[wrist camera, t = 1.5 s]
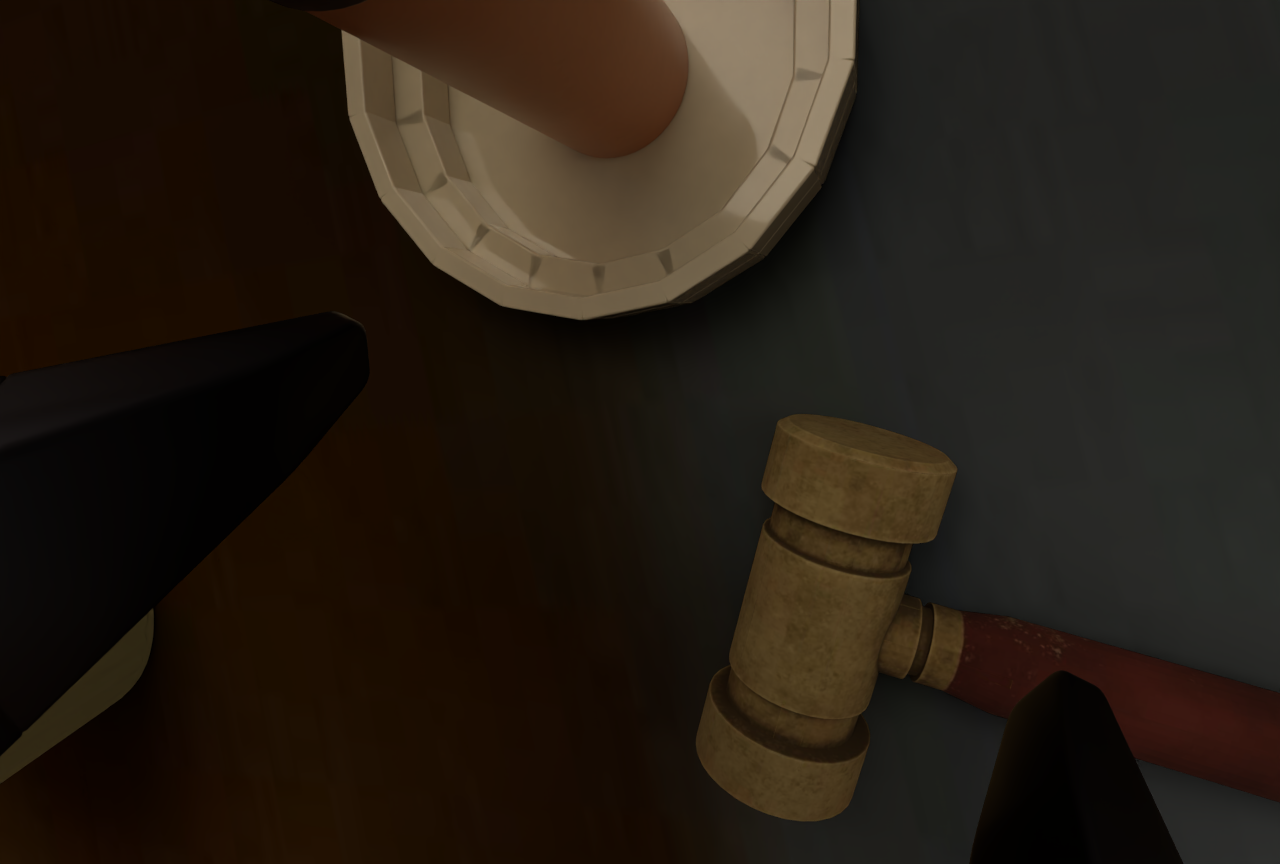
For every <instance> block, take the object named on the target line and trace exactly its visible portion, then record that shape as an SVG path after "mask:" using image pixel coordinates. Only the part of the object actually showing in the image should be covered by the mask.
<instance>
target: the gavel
mask: <svg viewBox="0 0 1280 864" xmlns="http://www.w3.org/2000/svg"><path fill="white" fill-rule="evenodd" d="M956 473H957V467H956V466H955V464H954V463H953V462H952V461H951V460H950V459H949V457H948V456H946V455H945V454H944V453H943V452H941V451H939V450H938V449H936V448H933V447H931V446H929V445H927V444H925V443H922V442H920V441H917V440H915V439H912V438H909V437H907V436H904V435H901V434H897V433H894V432H891V431H888V430H884V429H881V428H878V427H874V426H870V425H866V424H862V423H858V422H854V421H849V420H844V419H839V418H834V417H828V416H821V415H812V414H795V415H791V416H788V417H785V418H783V419H780V420H779V421H778V422H777V426H776V430H775V433H774V437H773V441H772V445H771V449H770V453H769V457H768V461H767V464H766V468H765V472H764V476H763V480H762V490H763V491H764V493H765V494H766V495H767V496H768V497H769V498H770V499H772V500H773V501H774V502H775V504H774V508H773V512H772V516H771V518H769V519H767V520H765V522H764V524H763V527H762V530H761V534H760V538H759V542H758V546H757V549H756V553H755V557H754V561H753V565H752V568H751V572H750V576H749V580H748V584H747V588H746V591H745V595H744V599H743V603H742V607H741V610H740V614H739V618H738V622H737V626H736V629H735V633H734V637H733V641H732V645H731V649H730V652H729V661H730V664H731V665H729V666H726V667H724V668H722V669H720V670H719V671H718V672H717V673H716V674H715V675H714V676H713V678H712V680H711V682H710V685H709V689H708V693H707V697H706V701H705V705H704V708H703V712H702V716H701V720H700V724H699V728H698V732H697V737H696V748H697V754H698V756H699V759H700V761H701V763H702V765H703V767H704V768H705V769H706V771H707V772H708V774H709V775H710V776H711V777H712V778H713V779H714V780H715V781H716V782H717V783H718V784H719V785H720V786H721V787H722V788H723V789H724V790H725V791H727V792H728V793H729V794H731V795H732V796H733V797H735V798H736V799H738V800H740V801H741V802H743V803H745V804H747V805H748V806H750V807H752V808H755V809H757V810H759V811H762V812H764V813H766V814H769V815H773V816H776V817H780V818H783V819H789V820H796V821H819V820H824V819H828V818H831V817H833V816H836V815H838V814H840V813H841V812H842V811H843V810H844V809H845V808H846V807H847V806H848V805H849V803H850V801H851V799H852V796H853V793H854V790H855V787H856V784H857V781H858V778H859V775H860V771H861V768H862V765H863V762H864V759H865V756H866V753H867V750H868V747H869V743H870V731H869V728H868V724H867V723H866V721H865V719H864V717H863V715H862V714H861V713H862V712H863V711H865V710H866V708H867V706H868V705H869V702H870V699H871V696H872V693H873V690H874V687H875V683H876V680H877V677H878V674H879V672H880V673H883V674H886V675H890V676H893V677H896V678H900V679H903V678H904V677H905V676H906V675H907V674H909V675H910V678H911V680H912V681H913V682H916V683H920V684H923V685H926V686H929V687H933V688H936V689H939V690H942V691H944V692H946V693H948V694H950V695H952V696H954V697H956V698H959V699H961V700H963V701H965V702H967V703H969V704H971V705H973V706H975V707H977V708H979V709H981V710H983V711H985V712H987V713H990V714H993V715H996V716H1000V717H1003V718H1006V719H1008V718H1009V716H1010V713H1011V711H1012V710H1013V708H1014V707H1015V705H1016V704H1017V703H1018V702H1019V701H1020V700H1021V699H1022V698H1023V697H1025V696H1026V695H1027V694H1028V693H1029V692H1030V691H1032V690H1033V689H1034V688H1035V687H1036V686H1038V685H1039V684H1040V683H1041V682H1042V681H1044V680H1045V679H1046V678H1047V677H1048V676H1050V675H1051V674H1052V673H1054V672H1056V671H1061V670H1063V671H1067V672H1069V673H1071V674H1073V675H1075V676H1077V677H1079V678H1081V679H1083V680H1085V681H1087V682H1089V683H1091V684H1093V685H1095V686H1097V687H1098V688H1099V689H1100V690H1101V691H1102V692H1103V693H1104V695H1105V697H1106V698H1107V700H1108V703H1109V705H1110V707H1111V709H1112V711H1113V713H1114V715H1115V718H1116V720H1117V722H1118V724H1119V726H1120V728H1121V730H1122V733H1123V735H1124V737H1125V739H1126V741H1127V743H1128V746H1129V748H1130V750H1131V752H1132V754H1133V756H1134V758H1137V759H1140V760H1143V761H1146V762H1150V763H1153V764H1156V765H1159V766H1163V767H1166V768H1169V769H1173V770H1176V771H1179V772H1182V773H1186V774H1189V775H1192V776H1195V777H1199V778H1202V779H1205V780H1208V781H1212V782H1215V783H1218V784H1221V785H1225V786H1228V787H1231V788H1234V789H1238V790H1241V791H1244V792H1248V793H1251V794H1254V795H1257V796H1261V797H1264V798H1267V799H1270V800H1274V801H1277V802H1280V693H1278V692H1274V691H1270V690H1267V689H1263V688H1260V687H1256V686H1253V685H1249V684H1246V683H1242V682H1239V681H1235V680H1231V679H1228V678H1224V677H1221V676H1217V675H1214V674H1210V673H1207V672H1203V671H1200V670H1196V669H1192V668H1189V667H1185V666H1182V665H1178V664H1175V663H1171V662H1168V661H1164V660H1161V659H1157V658H1154V657H1150V656H1146V655H1143V654H1139V653H1136V652H1132V651H1129V650H1125V649H1122V648H1118V647H1115V646H1111V645H1107V644H1104V643H1100V642H1097V641H1093V640H1090V639H1086V638H1083V637H1079V636H1076V635H1072V634H1068V633H1065V632H1061V631H1058V630H1054V629H1051V628H1047V627H1044V626H1040V625H1037V624H1033V623H1029V622H1026V621H1022V620H1019V619H1015V618H1012V617H1008V616H1000V615H992V614H983V613H975V612H967V611H958V610H955V609H951V608H948V607H944V606H941V605H937V604H934V603H927V604H926V605H925V607H924V606H922V603H921V600H920V599H919V598H916V597H913V596H909V595H906V594H904V592H905V589H906V586H907V582H908V579H909V576H910V573H911V564H910V562H909V561H908V557H909V554H910V551H911V548H912V545H913V543H914V544H917V543H924V542H929V541H931V540H933V539H934V538H935V537H936V535H937V532H938V529H939V526H940V523H941V520H942V516H943V513H944V510H945V507H946V504H947V501H948V498H949V495H950V492H951V488H952V485H953V482H954V479H955V476H956Z"/></svg>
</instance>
